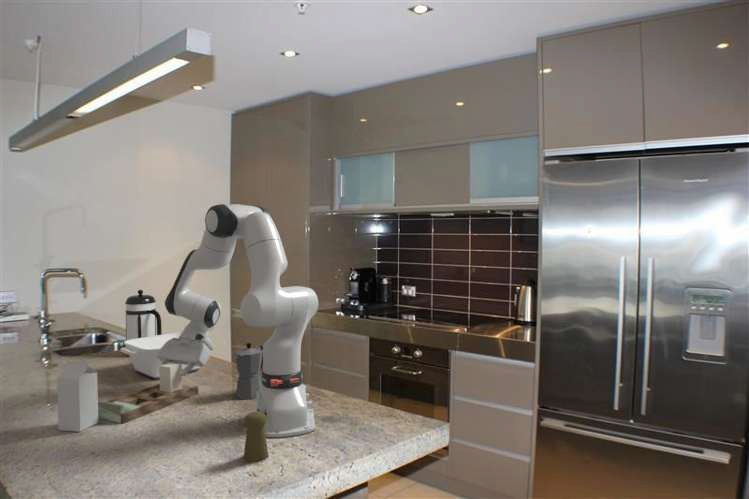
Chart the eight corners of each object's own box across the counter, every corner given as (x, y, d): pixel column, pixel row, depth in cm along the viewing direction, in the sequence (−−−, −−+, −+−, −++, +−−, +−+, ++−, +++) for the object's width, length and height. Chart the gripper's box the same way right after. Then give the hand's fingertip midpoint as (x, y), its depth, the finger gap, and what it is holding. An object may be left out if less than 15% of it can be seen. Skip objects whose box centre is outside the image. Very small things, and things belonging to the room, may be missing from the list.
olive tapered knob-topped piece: (270, 451, 128) (269, 408, 128) (266, 462, 122) (265, 417, 122) (246, 452, 128) (245, 409, 128) (240, 463, 122) (240, 417, 122)
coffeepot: (248, 403, 166) (248, 348, 165) (225, 399, 169) (224, 345, 169) (275, 389, 180) (275, 339, 179) (253, 386, 184) (253, 337, 183)
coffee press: (119, 360, 224) (118, 292, 223) (127, 352, 240) (126, 288, 239) (161, 357, 229) (160, 290, 228) (167, 349, 244) (165, 287, 243)
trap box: (166, 388, 182) (166, 374, 182) (198, 393, 176) (198, 379, 175) (88, 416, 155) (88, 399, 154) (123, 423, 148) (122, 406, 148)
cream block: (171, 386, 177) (170, 362, 177) (182, 388, 175) (181, 363, 175) (159, 390, 173) (159, 365, 173) (170, 392, 171) (170, 367, 171)
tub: (138, 388, 183) (137, 352, 183) (110, 374, 201) (109, 342, 201) (222, 369, 208) (222, 338, 208) (190, 358, 226) (190, 330, 226)
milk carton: (80, 432, 142) (78, 364, 141) (58, 430, 143) (56, 363, 143) (98, 423, 149) (97, 358, 148) (77, 421, 150) (76, 357, 150)
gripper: (165, 332, 185) (144, 365, 177) (209, 337, 177) (188, 372, 168) (175, 342, 189) (154, 374, 181) (218, 347, 181) (198, 381, 172)
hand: (171, 373), depth 174 cm, fingers open, 8 cm apart
